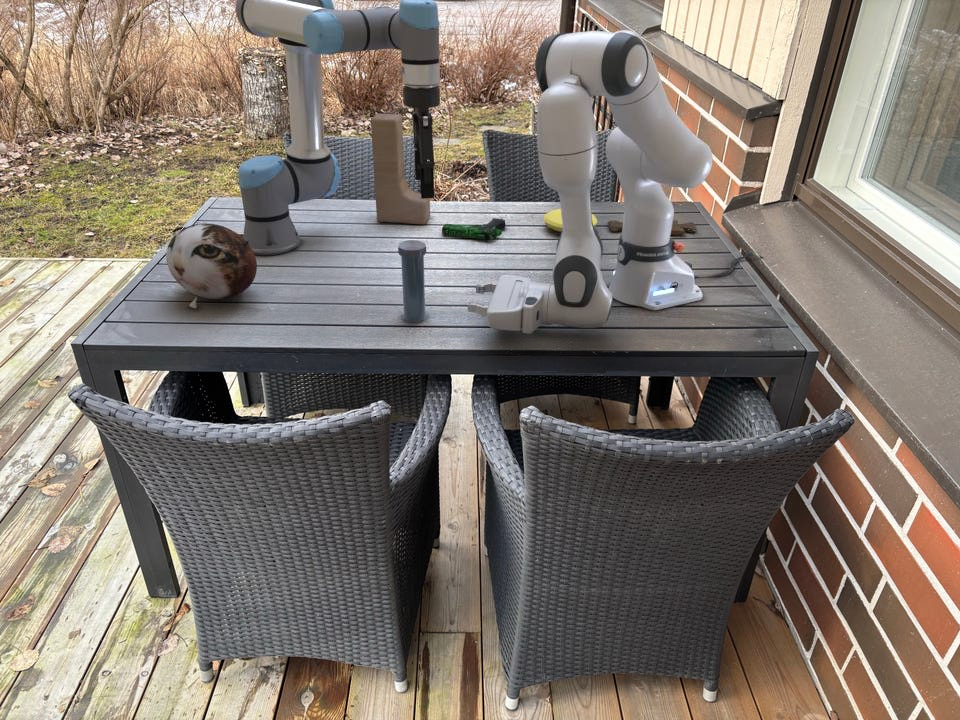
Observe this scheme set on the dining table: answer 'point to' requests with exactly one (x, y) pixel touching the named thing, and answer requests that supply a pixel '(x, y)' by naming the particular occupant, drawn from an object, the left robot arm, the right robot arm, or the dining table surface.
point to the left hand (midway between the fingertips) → (424, 188)
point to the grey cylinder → (413, 289)
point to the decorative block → (394, 175)
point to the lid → (412, 249)
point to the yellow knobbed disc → (559, 220)
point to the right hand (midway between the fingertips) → (472, 297)
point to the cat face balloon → (211, 261)
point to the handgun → (476, 230)
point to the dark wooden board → (676, 229)
